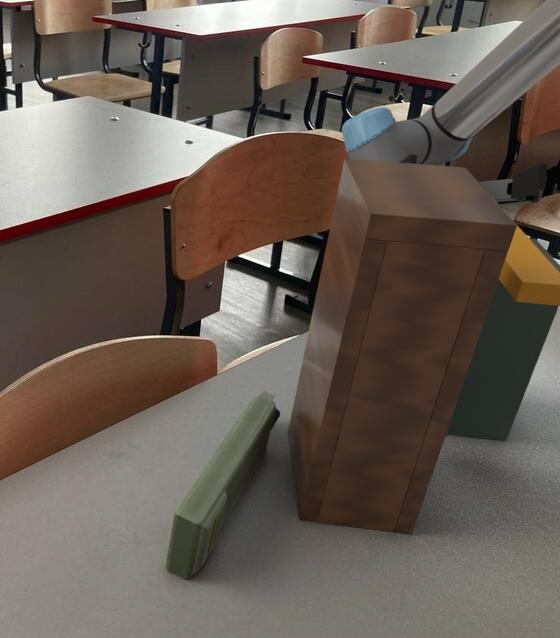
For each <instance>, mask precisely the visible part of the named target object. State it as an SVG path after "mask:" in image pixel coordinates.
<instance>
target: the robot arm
mask: <svg viewBox="0 0 560 638" xmlns="http://www.w3.org/2000/svg"><path fill="white" fill-rule="evenodd" d="M558 66H560V0H545V1H543V2H542V3H541V4H540V5H539V6H538V7H537V8H536V9H534V11H532V13H530V14H529V15H528V16H527V17H526V18H525V19H524V20H523V21H522V22H521V23H519V25H518V26H517V27H515V29H514V30H512V31H511V32H510V33H509V34H508V35H507V36H506V37H505V38H504V39H503V40H502V41H501V42H500V43H499V44H497V45H496V46H495V47H494V48H493V49H492V50H491V51H490V52H488V53H487V55H485V56H484V58H482V59H481V60H480V61H479V62H478V63H477V64H476V65H474V67H473V68H471V69H470V71H469V72H467V73H466V74H465V75H464V76H463V77H462V78H461V79H459V81H457V83H455V84H454V85H453V87H451V88H450V89H449V90H448V91H447V92H446V93H444V95H443V96H441V97H440V98H439V99H438V100H437V101H436V102H435V103H434V104H433V105H432V106H431V107H430V108H429V109H427V111H426V112H424V113H423V114H422V115H421V116H419V117H416V118H410V119H403V120H397V121H396V118H395V117H394V115H393V112H392V110H391V109H389V108H387V107H384V106H383V107H382V106H381V107H376V108H373V109H370V110H366V111H363V112H361V113H359V114H356V115H354V116H352V117H350V118H349V119H348V120H346V121H345V122H344V123H343V124H342V127H341V133H342V139H343V143H344V147H345V149H344V150H345V153H347V156H348V159H356V160H369V161H383V162H396V163H410V164H424V165H442V164H445V163H448V162H450V161H452V160H455V159H458V158H460V157H461V156H462V155H464V154H465V153H466V152H467V151H468V149H469V147H470V144H471V142H472V139H473V136H475V135H476V134H477V133H478V132H479V131H481V130H482V129H484V127H486V126H487V125H488V124H489V123H490V122H492V121H493V120H494V119H495V118H497V117H498V116H499V115H500V114H501V113H503V112H504V111H505V110H506V109H507V108H509V107H510V106H511V105H513V103H515V102H516V101H517V100H518V99H519V98H521V97H522V96H523V95H524V94H526V93H527V92H528V91H529V90H531V88H533V87H534V86H535V85H537V84H538V83H539V82H540V81H541V80H543V79H544V78H545V77H546V76H548V75H549V74H550V73H551V72H552V71H553V70H555V69H556V68H557V67H558ZM547 172H548V163H538V164H535V165H534V166H532V167H529V168H526V169H524V170H522V171H519V172H517V173H516V174H514V175H512V178H505V179H496V180H485V181H478V182H479V184H480V185H481V186H482V187H483V188H484V189H485V190H486V191H487V193H488V194H489V195H490V196H491V197H492V198H493V199H494V200H495V201H496V202H497V203H498V204H499V206H500V207H501V208H503V207H508V206H510V207H511V206H519V205H524V204H525V205H526V204H536V203H540V200H541V199H540V198H541V191H542V190H545V189H546V182H547V181H546V180H547Z"/></svg>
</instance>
